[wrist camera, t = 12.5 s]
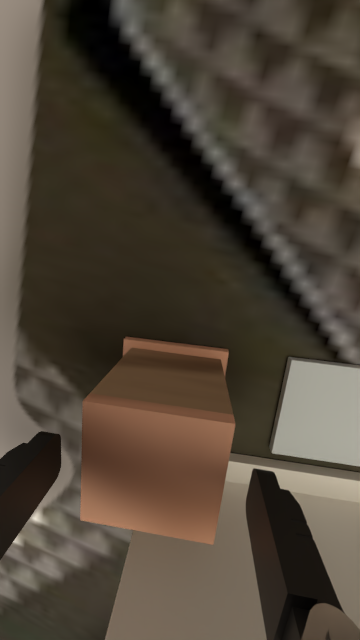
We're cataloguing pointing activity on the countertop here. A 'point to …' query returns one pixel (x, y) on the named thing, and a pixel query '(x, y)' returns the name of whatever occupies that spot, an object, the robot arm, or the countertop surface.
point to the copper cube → (157, 445)
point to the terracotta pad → (177, 349)
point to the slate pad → (319, 412)
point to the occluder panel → (235, 561)
